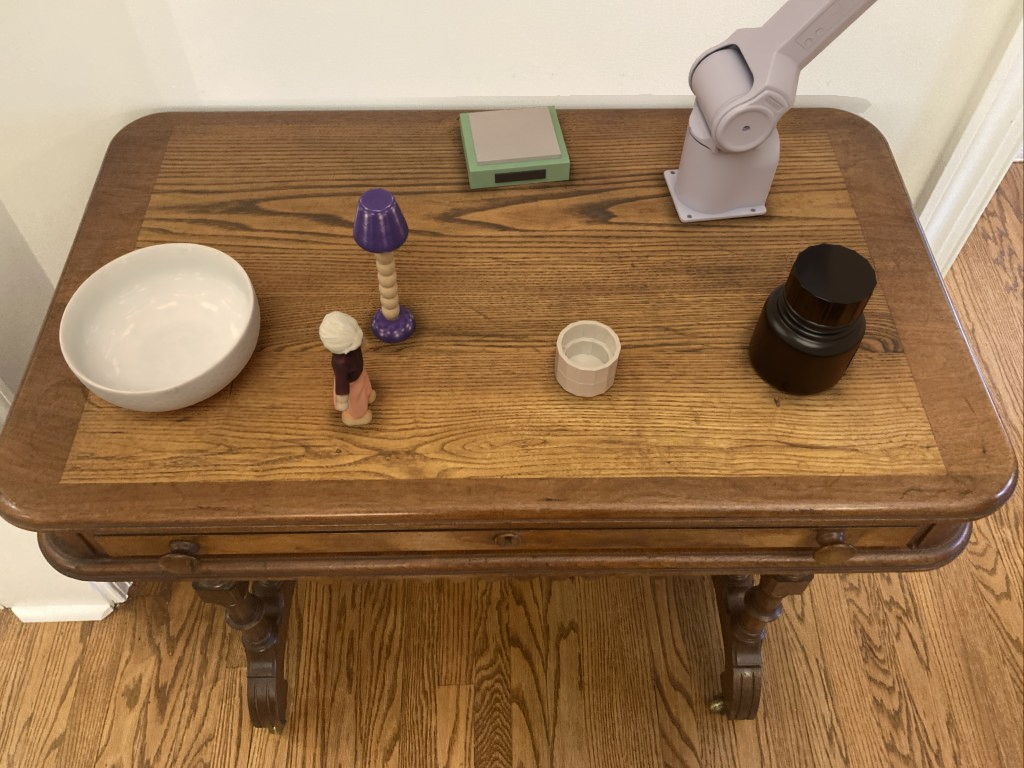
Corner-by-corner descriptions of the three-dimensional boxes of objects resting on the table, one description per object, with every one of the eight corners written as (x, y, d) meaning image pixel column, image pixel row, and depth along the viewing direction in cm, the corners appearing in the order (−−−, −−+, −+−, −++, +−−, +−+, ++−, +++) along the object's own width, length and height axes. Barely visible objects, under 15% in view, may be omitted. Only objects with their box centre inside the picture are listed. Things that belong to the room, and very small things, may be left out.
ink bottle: (865, 375, 80) (917, 289, 70) (795, 416, 77) (838, 333, 67) (793, 307, 84) (832, 217, 75) (725, 344, 82) (755, 256, 72)
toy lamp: (427, 317, 83) (413, 186, 70) (408, 353, 81) (390, 224, 67) (382, 304, 84) (359, 172, 70) (362, 339, 82) (334, 209, 68)
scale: (553, 123, 101) (554, 100, 98) (569, 181, 95) (571, 159, 92) (460, 131, 100) (459, 108, 97) (470, 190, 94) (469, 168, 91)
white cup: (607, 347, 81) (612, 316, 78) (620, 396, 78) (626, 366, 74) (549, 354, 81) (552, 323, 77) (560, 403, 78) (563, 374, 74)
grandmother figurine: (337, 377, 79) (312, 285, 69) (379, 374, 79) (360, 282, 69) (334, 448, 75) (307, 361, 64) (379, 445, 75) (359, 358, 64)
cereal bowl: (110, 294, 85) (82, 244, 79) (280, 288, 85) (264, 237, 79) (69, 441, 75) (33, 395, 69) (261, 433, 75) (242, 386, 70)
